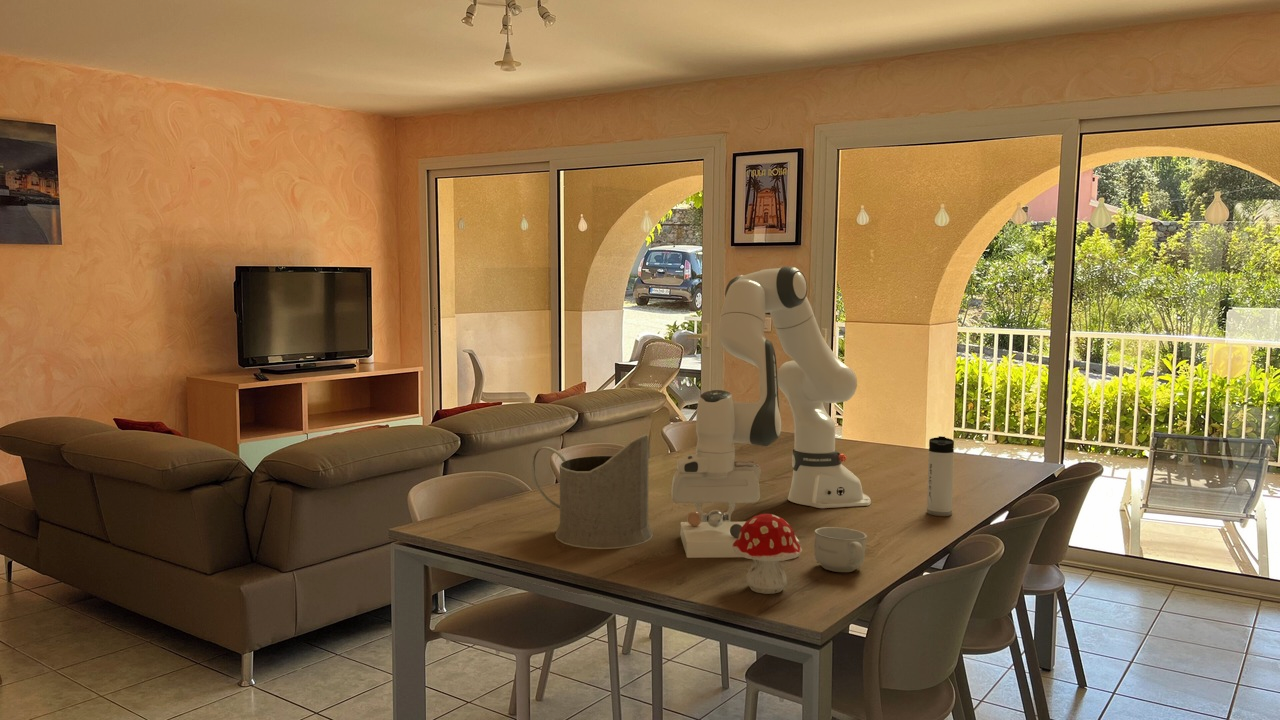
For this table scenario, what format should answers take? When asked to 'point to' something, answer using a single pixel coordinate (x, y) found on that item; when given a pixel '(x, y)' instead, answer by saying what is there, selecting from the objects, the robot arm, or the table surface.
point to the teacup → (839, 548)
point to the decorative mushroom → (766, 551)
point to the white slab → (709, 540)
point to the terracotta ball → (694, 518)
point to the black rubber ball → (735, 530)
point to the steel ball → (715, 518)
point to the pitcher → (604, 498)
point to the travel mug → (940, 476)
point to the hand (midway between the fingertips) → (715, 521)
